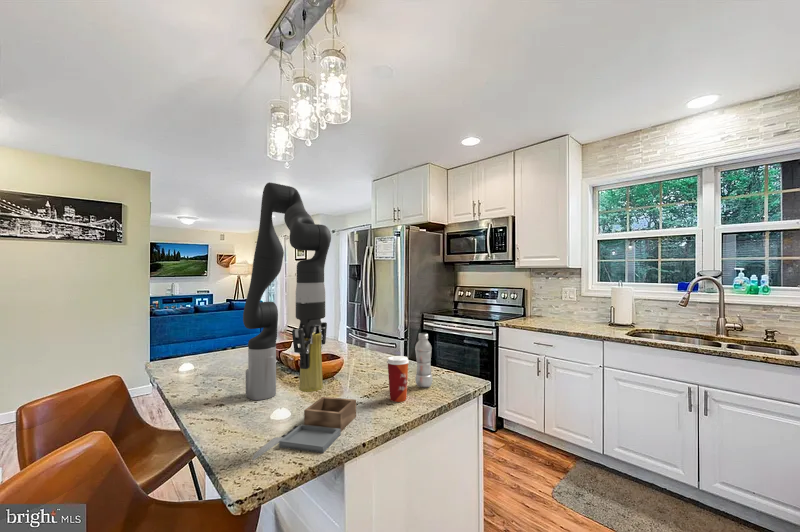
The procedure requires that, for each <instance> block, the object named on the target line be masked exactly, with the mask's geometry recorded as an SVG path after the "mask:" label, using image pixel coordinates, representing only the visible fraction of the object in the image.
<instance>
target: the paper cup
mask: <svg viewBox="0 0 800 532" xmlns="http://www.w3.org/2000/svg"><path fill="white" fill-rule="evenodd" d="M409 363H410V360H409V358H408V356H406V355H405V356H404V355H392V356H388V358H387V360H386V364H387V372H388V373H387V374H388V385H389V386H388V388H389V389H388V390H389V399H390V402H394V403H402V402H406V400H407V395H408V378H409V376H408V375H409Z"/></svg>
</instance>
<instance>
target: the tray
mask: <svg viewBox="0 0 800 532" xmlns="http://www.w3.org/2000/svg"><path fill="white" fill-rule="evenodd" d="M297 426H298V427H297V428H295V429H294V430H293V431H291V432H290V433H289V434H288V435H286V436H285V437H284V438H282V439H281V440H280V441H279V443H278V446H279V448H284V449H289V448H290V450H297V451H304V452H305V451H306V452H312V453H320V454H324V453H325V452H326V451H327V450H328V449H329V447H331V445H332V444H334V443H335V441H336V440H337V439H338V438H339V437H340V436H341V435H342V432H341V429H339V428H330V427H321V426H312V425H304V424H302V423H301V424H299V425H297Z"/></svg>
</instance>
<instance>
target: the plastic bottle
mask: <svg viewBox="0 0 800 532" xmlns="http://www.w3.org/2000/svg"><path fill="white" fill-rule="evenodd" d="M417 338H418V341H417V342H416V344H415V345H414V346H415V347H414V351H415V358H416V371H415V372H416V373H415V384H416V386H417V387H418V388H429V387H431V386H432V384H433V374H432V367H431V364H432V363H431V361H432V359H431V358H432V349H433V347H432V345H431V343H430V341H429V340H428V339H429V333H427V332H420V333H418V337H417Z"/></svg>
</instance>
